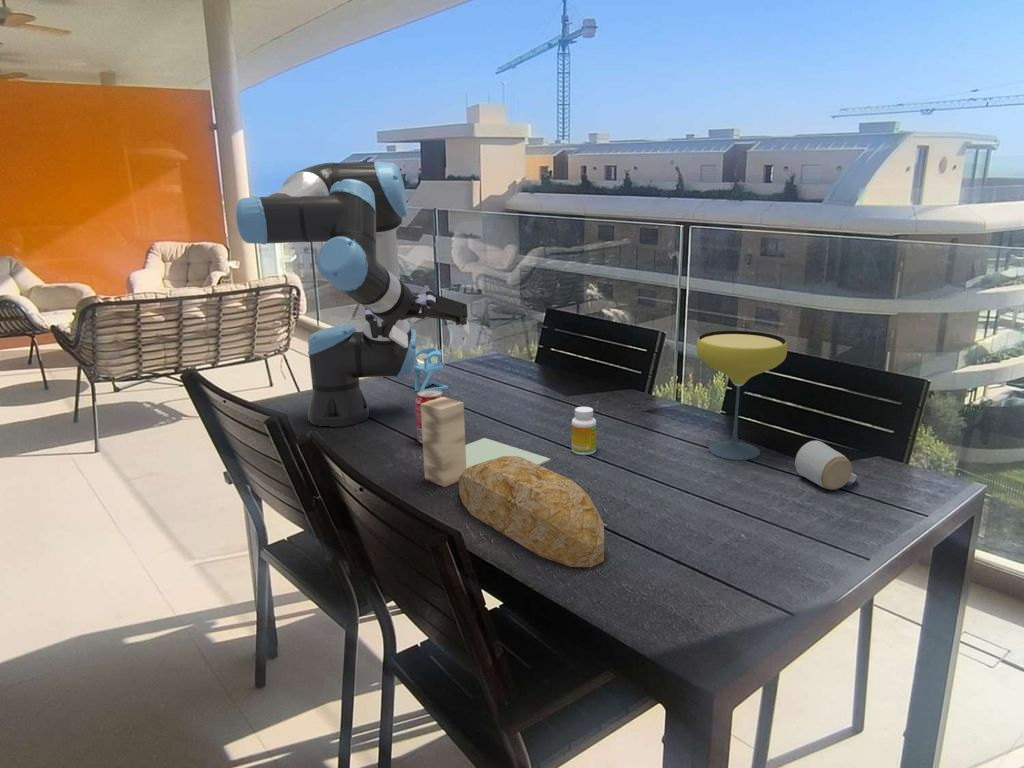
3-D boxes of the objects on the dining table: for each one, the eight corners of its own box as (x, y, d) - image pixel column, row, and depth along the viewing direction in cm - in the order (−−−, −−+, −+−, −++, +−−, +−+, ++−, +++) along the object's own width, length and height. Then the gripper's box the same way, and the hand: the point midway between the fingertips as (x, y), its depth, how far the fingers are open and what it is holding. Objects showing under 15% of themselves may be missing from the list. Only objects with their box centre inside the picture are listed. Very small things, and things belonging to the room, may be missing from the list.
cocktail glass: (791, 449, 157) (802, 337, 150) (755, 474, 144) (764, 353, 137) (715, 431, 168) (722, 326, 162) (675, 452, 156) (680, 340, 149)
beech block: (424, 479, 145) (420, 403, 141) (447, 470, 149) (443, 396, 145) (444, 487, 141) (440, 409, 137) (466, 477, 145) (463, 402, 141)
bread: (622, 553, 115) (624, 496, 112) (572, 577, 109) (572, 517, 106) (490, 484, 142) (489, 437, 140) (444, 499, 136) (441, 450, 133)
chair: (409, 390, 207) (406, 349, 204) (432, 384, 213) (430, 344, 209) (425, 395, 202) (422, 354, 199) (448, 389, 207) (446, 348, 204)
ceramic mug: (821, 494, 134) (826, 456, 132) (792, 478, 142) (796, 441, 139) (866, 487, 137) (872, 450, 135) (835, 471, 145) (840, 436, 143)
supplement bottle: (594, 456, 155) (595, 413, 152) (570, 454, 156) (570, 412, 153) (597, 447, 160) (597, 405, 157) (573, 446, 161) (573, 404, 158)
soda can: (453, 439, 167) (451, 389, 164) (438, 449, 161) (435, 398, 158) (427, 435, 170) (424, 386, 167) (411, 445, 164) (408, 395, 160)
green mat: (432, 459, 155) (432, 457, 155) (484, 439, 166) (484, 437, 166) (498, 483, 142) (498, 481, 142) (550, 460, 153) (550, 458, 153)
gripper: (322, 328, 128) (382, 363, 147) (449, 298, 120) (495, 340, 139) (322, 290, 130) (381, 330, 149) (447, 259, 123) (492, 305, 142)
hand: (436, 335), depth 144 cm, fingers open, 13 cm apart
